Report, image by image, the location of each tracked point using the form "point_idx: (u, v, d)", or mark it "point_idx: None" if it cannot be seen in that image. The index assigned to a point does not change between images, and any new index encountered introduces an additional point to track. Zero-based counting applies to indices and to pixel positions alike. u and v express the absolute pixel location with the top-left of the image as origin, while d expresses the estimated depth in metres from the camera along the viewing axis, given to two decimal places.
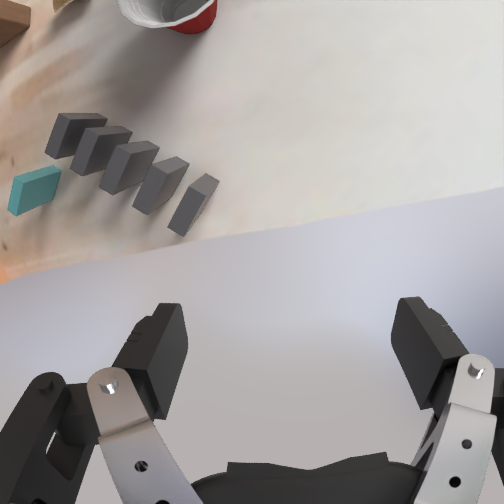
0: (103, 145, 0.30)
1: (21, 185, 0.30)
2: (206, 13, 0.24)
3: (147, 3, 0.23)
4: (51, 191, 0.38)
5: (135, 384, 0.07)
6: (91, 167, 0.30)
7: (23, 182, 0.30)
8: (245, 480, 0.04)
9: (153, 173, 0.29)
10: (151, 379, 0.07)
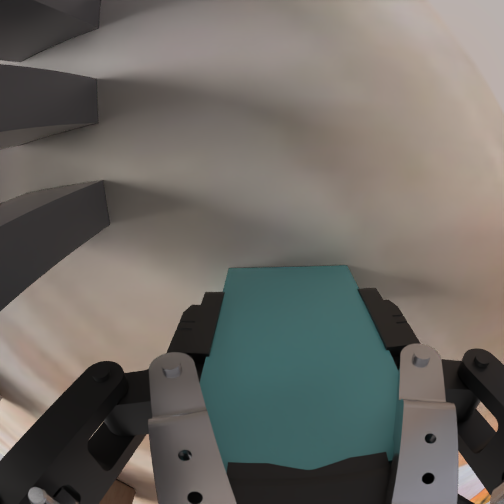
0: None
1: None
2: None
3: None
4: (308, 278, 0.12)
5: (195, 368, 0.08)
6: None
7: None
8: (245, 480, 0.04)
9: None
10: None
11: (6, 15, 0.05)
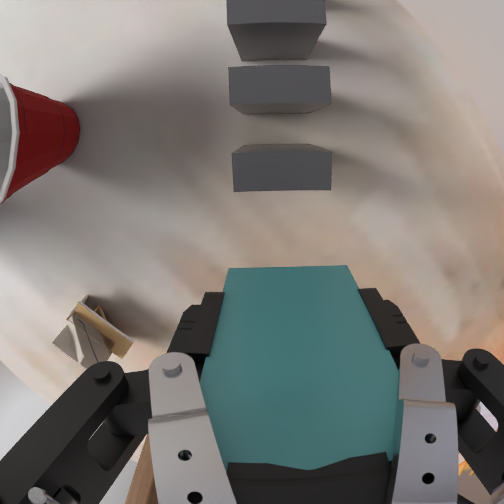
0: None
1: None
2: None
3: (31, 175, 0.18)
4: (308, 278, 0.12)
5: (195, 368, 0.08)
6: None
7: None
8: (245, 480, 0.04)
9: None
10: None
11: (294, 44, 0.16)
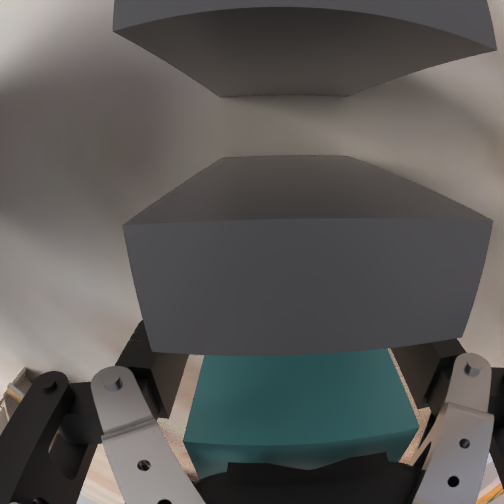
0: None
1: (206, 448, 0.05)
2: None
3: None
4: None
5: (139, 383, 0.07)
6: None
7: (184, 439, 0.05)
8: (245, 480, 0.04)
9: None
10: (155, 378, 0.07)
11: None
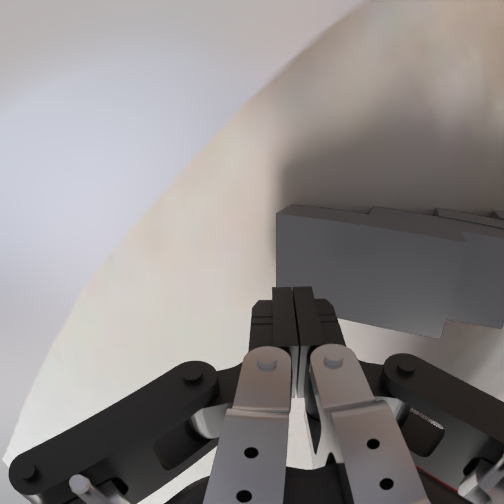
0: None
1: None
2: None
3: None
4: None
5: None
6: None
7: None
8: None
9: None
10: (297, 355, 0.08)
11: None
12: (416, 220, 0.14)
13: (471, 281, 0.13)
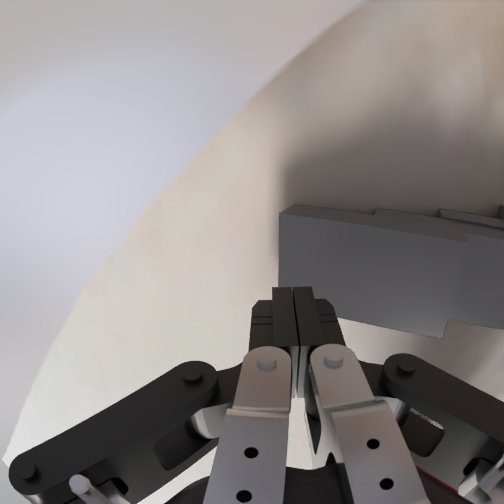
0: None
1: None
2: None
3: None
4: None
5: None
6: None
7: None
8: None
9: None
10: (297, 355, 0.08)
11: None
12: (420, 222, 0.14)
13: (474, 282, 0.13)
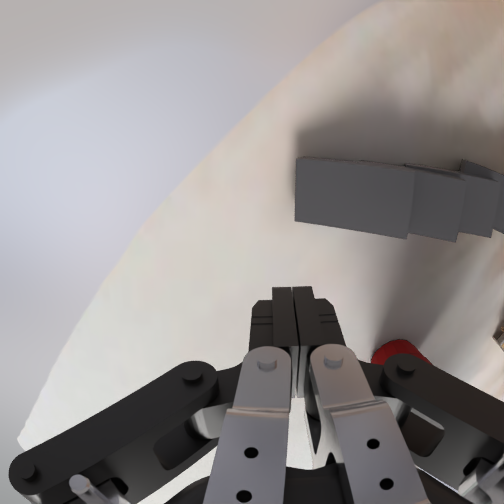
0: None
1: None
2: None
3: None
4: None
5: None
6: None
7: None
8: None
9: None
10: (297, 355, 0.08)
11: None
12: None
13: (428, 206, 0.21)
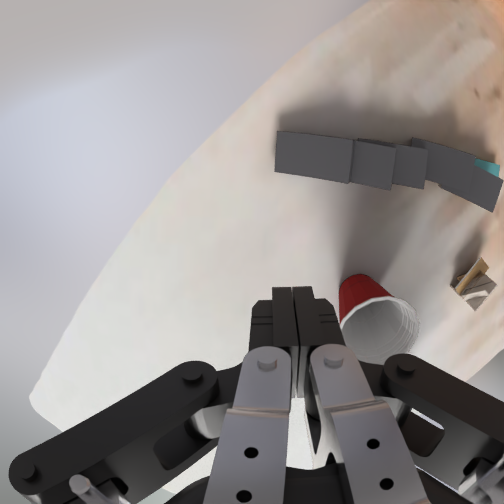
0: (455, 177, 0.32)
1: None
2: (341, 312, 0.38)
3: (393, 300, 0.37)
4: None
5: None
6: (464, 159, 0.30)
7: None
8: None
9: (391, 183, 0.33)
10: (297, 355, 0.08)
11: None
12: None
13: (369, 164, 0.33)
